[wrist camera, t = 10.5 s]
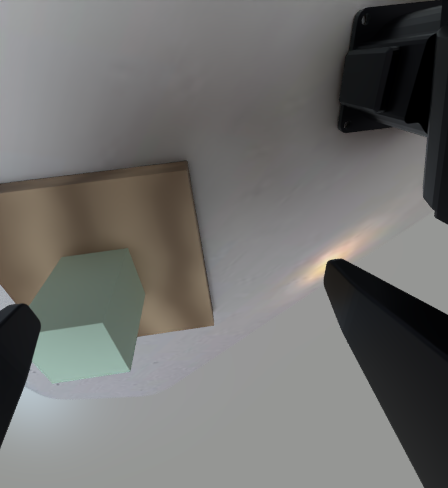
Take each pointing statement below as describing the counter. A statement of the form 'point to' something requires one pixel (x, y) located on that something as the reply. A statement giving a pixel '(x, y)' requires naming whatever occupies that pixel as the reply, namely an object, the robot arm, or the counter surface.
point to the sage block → (88, 316)
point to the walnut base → (111, 237)
